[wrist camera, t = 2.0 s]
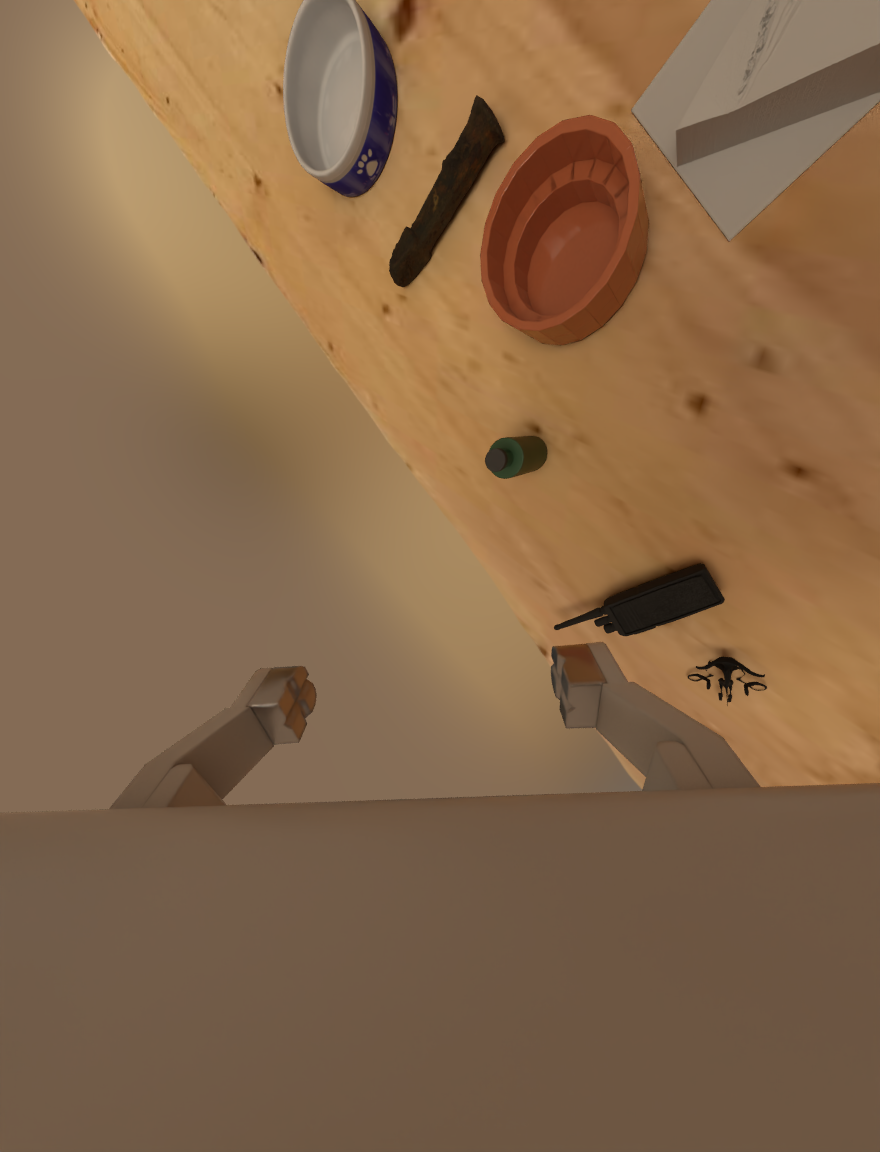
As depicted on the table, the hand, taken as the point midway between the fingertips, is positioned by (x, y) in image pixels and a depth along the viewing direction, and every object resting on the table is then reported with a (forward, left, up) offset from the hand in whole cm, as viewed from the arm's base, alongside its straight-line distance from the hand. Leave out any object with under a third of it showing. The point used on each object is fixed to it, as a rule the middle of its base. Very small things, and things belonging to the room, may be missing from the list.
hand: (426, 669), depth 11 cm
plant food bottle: (+3, -13, -42) cm, 44 cm away
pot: (-16, -20, -42) cm, 50 cm away
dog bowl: (-20, -59, -43) cm, 75 cm away
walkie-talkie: (+12, +11, -43) cm, 46 cm away
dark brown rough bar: (-15, -39, -43) cm, 60 cm away
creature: (+12, +25, -43) cm, 51 cm away
